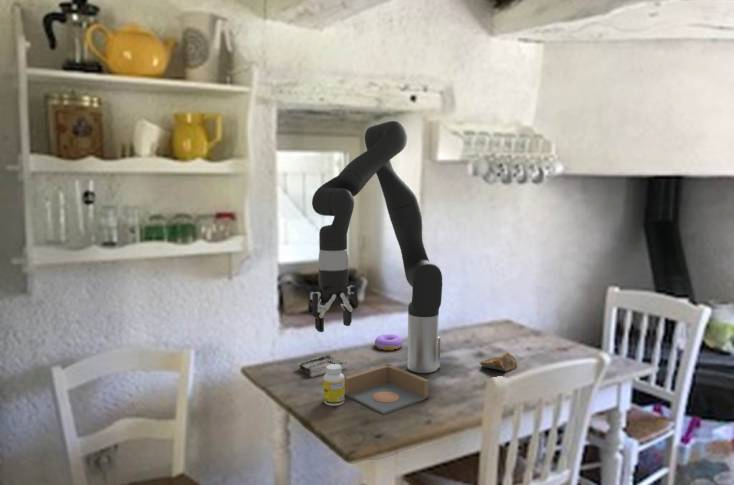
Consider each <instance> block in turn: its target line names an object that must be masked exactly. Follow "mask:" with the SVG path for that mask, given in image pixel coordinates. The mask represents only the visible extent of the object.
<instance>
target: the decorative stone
mask: <svg viewBox="0 0 734 485" xmlns="http://www.w3.org/2000/svg"><path fill="white" fill-rule="evenodd" d="M479 365H481V366H482V367H484V368H487V369H493V370H498V371H502V372H509V371H513V370H514V369H515V368H516V366H517V361H516V358H515V356H514V355H512V354H510V352H505V353H503V354H502V355H500V356H493V357H490V358H487V359H483V360H480V361H479ZM515 370H516V369H515Z"/></svg>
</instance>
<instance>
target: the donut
mask: <svg viewBox="0 0 734 485" xmlns="http://www.w3.org/2000/svg"><path fill="white" fill-rule="evenodd" d="M403 343H404V339H403V337H402V336H400V335H396V334H392V333H391V334H388V333H387V334H381V335H378V336H377V337H376V338H375V339H374V345H375V346H376V348H377V349H378V350H381V349H383V350H382V351H388V350H389V351H395V350H394V349H397V350H399V349H401V348H402V347H403ZM398 348H399V349H398Z"/></svg>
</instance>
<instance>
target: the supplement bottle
mask: <svg viewBox="0 0 734 485" xmlns="http://www.w3.org/2000/svg"><path fill="white" fill-rule="evenodd" d="M325 367H326V372H327V373H326V374H323V401H324V404H325V405H328V406H330V407H331V406H333V407H335V406H336V407H337V406H340V405H342V404H344V403H345V375H344V374H343V372H342V370H341V365H339V364H334V363H331V364H328V365H326V366H325Z"/></svg>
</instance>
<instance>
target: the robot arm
mask: <svg viewBox="0 0 734 485" xmlns="http://www.w3.org/2000/svg"><path fill="white" fill-rule="evenodd" d="M407 143H408V133H407V131H406V128H405V126H404V125H403V123H401V122H399V121H397V120H391V121H390V120H389V121H386V122H382V123H379V124H375V125H373V126H370V127H368V128H367V129H366V130H365V133H364V144H365V148H366V151H364V152H363V153H361V154H360V155H358V156H357V157H355V158H354V159H352V160H351V161H350V162H349V163H348V164H346V166H345V167H344V168H343V169H342V170H341V171H340V173H339V174H338V175H337V176H335V177H333V178H330V180H328V181H327V182H325V183H323V184H322V185H321V186H319V187H318V189H316V191H315V192H314V194H313V196H312V198H311V199H312V200H311V205H312V209H313V211H314V212H315V213H317V214H318V215H320V216H326V217H327V216H328V217H333V220H332V222H331V224H328V225H324V226H321V228H320V229H319V236H318V237H319V239H318V241H319V243H318V244H319V251H318V284H319V290H318V291H316V292H315V291H309V292H308V299H307V300H308V301H307V303H308V304H307V314H308V315H309V316H311V317H314V321H315V323H314V324H315V326H314V328H315V329H316V331H317V332H318V333H323V332H324V331H325V319H324V316H325V314H326V312H327V311H329V309H330V308H332V307H335V306H338V307H339V306H341V308H342V309H343V310H342V315H343V316H342V320H343V321H342V323H343V326H346V327H350V326H351V324H352V315H353V314H352V313H353V310H356V309H358V307H359V300H358V298H359V297H358V295H359V294H358V287H357V286H355V285H352V284H349V255H348V254H349V253H348V230H349V227H350V223H351V218H352V215H353V213H354V208H355V207H354V206H355V200H354V197H355V196H357V195H358V194H360V192H361V191H362V190H363V188H364V187H365V186H366V185H367V183H368V182H369V181H370V180H371V179H372V178H373V177H374V175H375V174H376V177H377V180H378V181H379V186H380V188H381V191H382V194H383V197H384V202H385V206H386V209H387V214H388V217H389V219H390V222H391V223H390V224H391V225H392V229H393V231H394V232H393V233H394V234H395V238H396V240H397V242H398V245H399V249H400V253H401V258H402V263H403V269H404V270H403V271H404V274H405V275H404V276H405V279H406V282H407V283H408V285H409V286H410V287H411V288H412V294H411V301H410V303H409V304H408V306H407V310H408V311H407V312H408V313H407V369H408V370H409V371H411V372H413V373H417V374H418V373H419V374H429V373H433V372H436V371H437V370H438V369H439V368H440V367H441V337H440V336H439V320H440V319H439V315H440V312H439V311H440V307H441V305H442V295H443V273H442V271H441V268H440V267H439V266H437V265H436V264H435V263H432V262H430V259H429V257H428V255H427V252H426V249H425V246H424V242H423V217H422V212H421V208H420V205H419V204H420V203H419V201H418V197H417V195H416V193H415V192H414V190H413V189H412V188H411V187H410V185H409V184H408V183H406V181H405V180H403V178H402V177H401V176H400V175H399V174H398V172H397V171H396V170H395V168H394V166H393V163H392V159H394V157H396V156H397V155H398V154H400V153H401V152H402V151H403V150H405V148H406V146H407ZM348 284H349V285H348ZM347 295H348V298H347Z"/></svg>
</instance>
